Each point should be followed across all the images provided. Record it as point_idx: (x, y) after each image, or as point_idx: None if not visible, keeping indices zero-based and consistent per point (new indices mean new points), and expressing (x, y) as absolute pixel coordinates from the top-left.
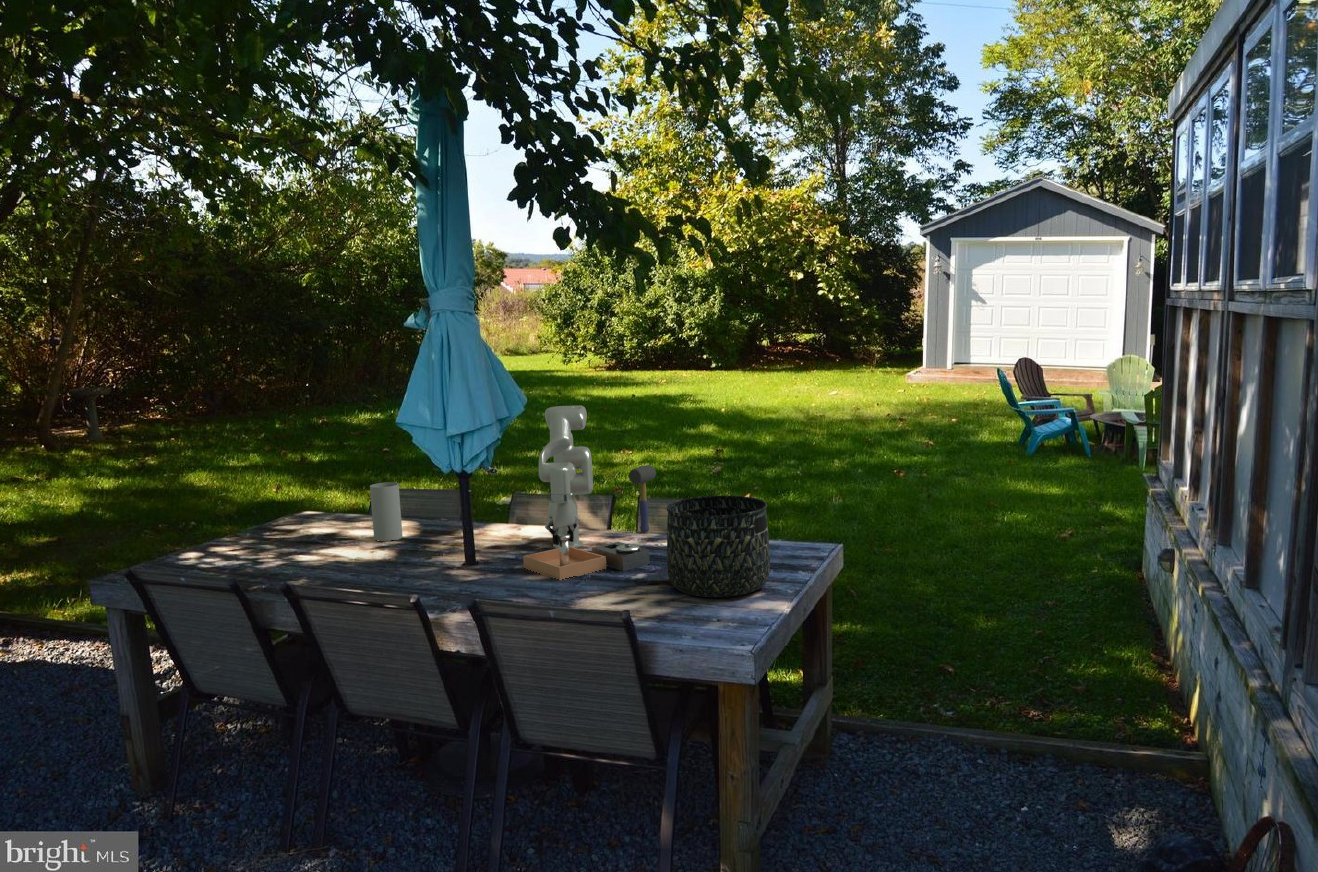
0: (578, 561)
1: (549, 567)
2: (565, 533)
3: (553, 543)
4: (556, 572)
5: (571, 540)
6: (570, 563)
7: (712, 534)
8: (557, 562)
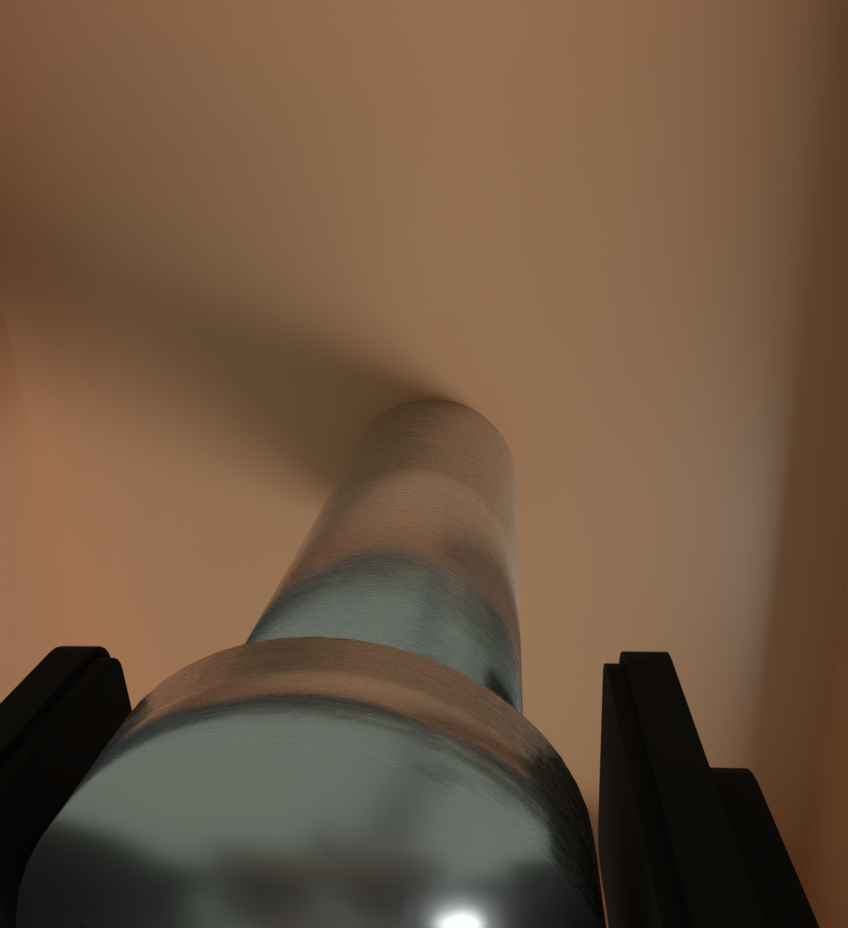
0: (779, 386)
1: None
2: (548, 868)
3: (59, 653)
4: None
5: (602, 867)
6: (598, 398)
7: None
8: (473, 164)
